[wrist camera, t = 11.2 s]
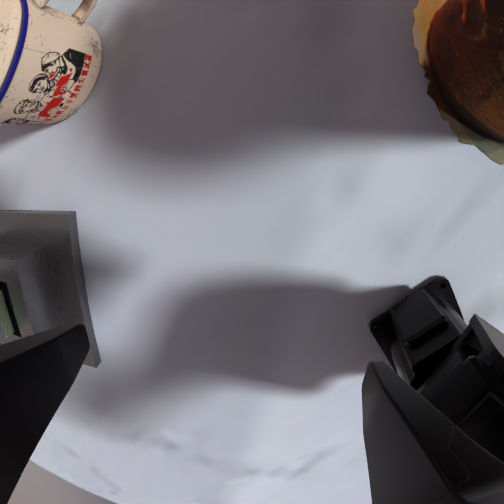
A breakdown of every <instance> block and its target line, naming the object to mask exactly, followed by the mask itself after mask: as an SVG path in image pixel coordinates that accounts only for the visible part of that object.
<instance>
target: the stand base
mask: <svg viewBox="0 0 504 504" xmlns="http://www.w3.org/2000/svg"><path fill="white" fill-rule="evenodd" d="M0 289H2V291H3V295H4V299H5V302H6V306H7V310H8V313H9V316H10V320H11V323H12V326H13V329H14V333H13V334H12V335H11V336H9V337H8V338H6V337H4V338H3V339H1V340H0V345H2V344H5V343H8V342H11V341H14V340H18V339H21V338H24V337H27V336H30V335H33V334H37V333H40V332H43V331H46V330H49V329H52V328H55V327H59V326H62V325H65V324H68V323H71V322H78V323H82V324H84V325H85V327H86V330H87V335H88V339H89V343H90V350H89V352H88V354H87V356H86V358H85V360H84V362H83V364H85V365H88V366H91V367H95V368H96V367H97V366H98V365H99V364H100V363H101V359H100V355H99V351H98V347H97V343H96V339H95V335H94V330H93V326H92V321H91V316H90V311H89V306H88V301H87V296H86V290H85V284H84V278H83V271H82V264H81V257H80V249H79V241H78V231H77V221H76V211H32V210H0Z"/></svg>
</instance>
